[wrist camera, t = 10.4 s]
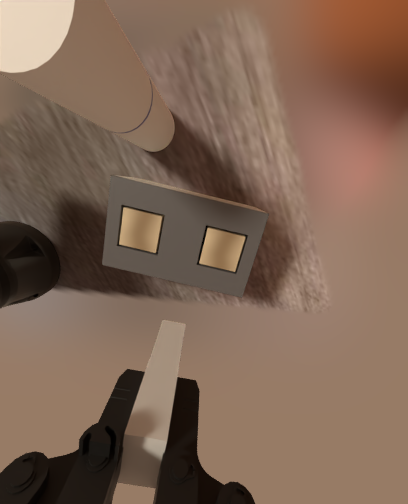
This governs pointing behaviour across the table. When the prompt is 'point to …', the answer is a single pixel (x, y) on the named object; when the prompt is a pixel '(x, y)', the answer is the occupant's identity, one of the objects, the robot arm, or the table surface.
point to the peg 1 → (141, 229)
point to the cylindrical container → (83, 67)
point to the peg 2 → (221, 248)
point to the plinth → (181, 234)
